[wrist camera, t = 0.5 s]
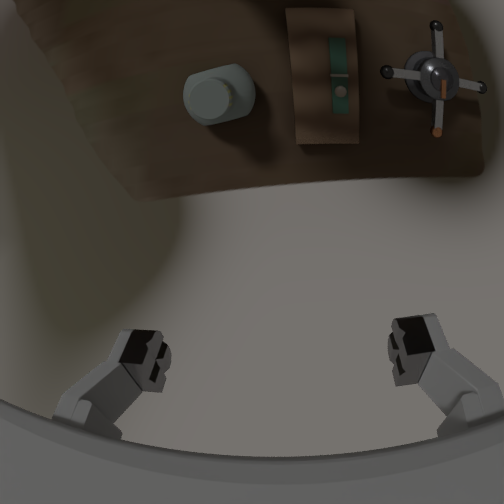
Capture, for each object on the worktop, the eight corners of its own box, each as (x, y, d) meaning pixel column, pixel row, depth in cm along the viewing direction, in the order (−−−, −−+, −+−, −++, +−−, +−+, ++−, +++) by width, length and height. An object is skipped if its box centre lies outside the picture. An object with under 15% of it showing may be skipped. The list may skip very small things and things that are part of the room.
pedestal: (403, 47, 37) (405, 47, 36) (449, 55, 36) (452, 56, 35) (404, 99, 42) (406, 100, 41) (449, 104, 41) (451, 105, 40)
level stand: (285, 10, 36) (285, 6, 33) (350, 11, 35) (356, 7, 31) (295, 140, 48) (296, 147, 45) (355, 139, 47) (361, 146, 44)
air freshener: (249, 60, 42) (242, 60, 33) (261, 108, 46) (257, 119, 38) (183, 78, 44) (162, 83, 36) (197, 123, 48) (179, 138, 40)
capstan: (371, 12, 34) (380, 8, 30) (476, 34, 31) (491, 34, 27) (375, 129, 45) (384, 137, 41) (474, 138, 42) (487, 146, 38)
